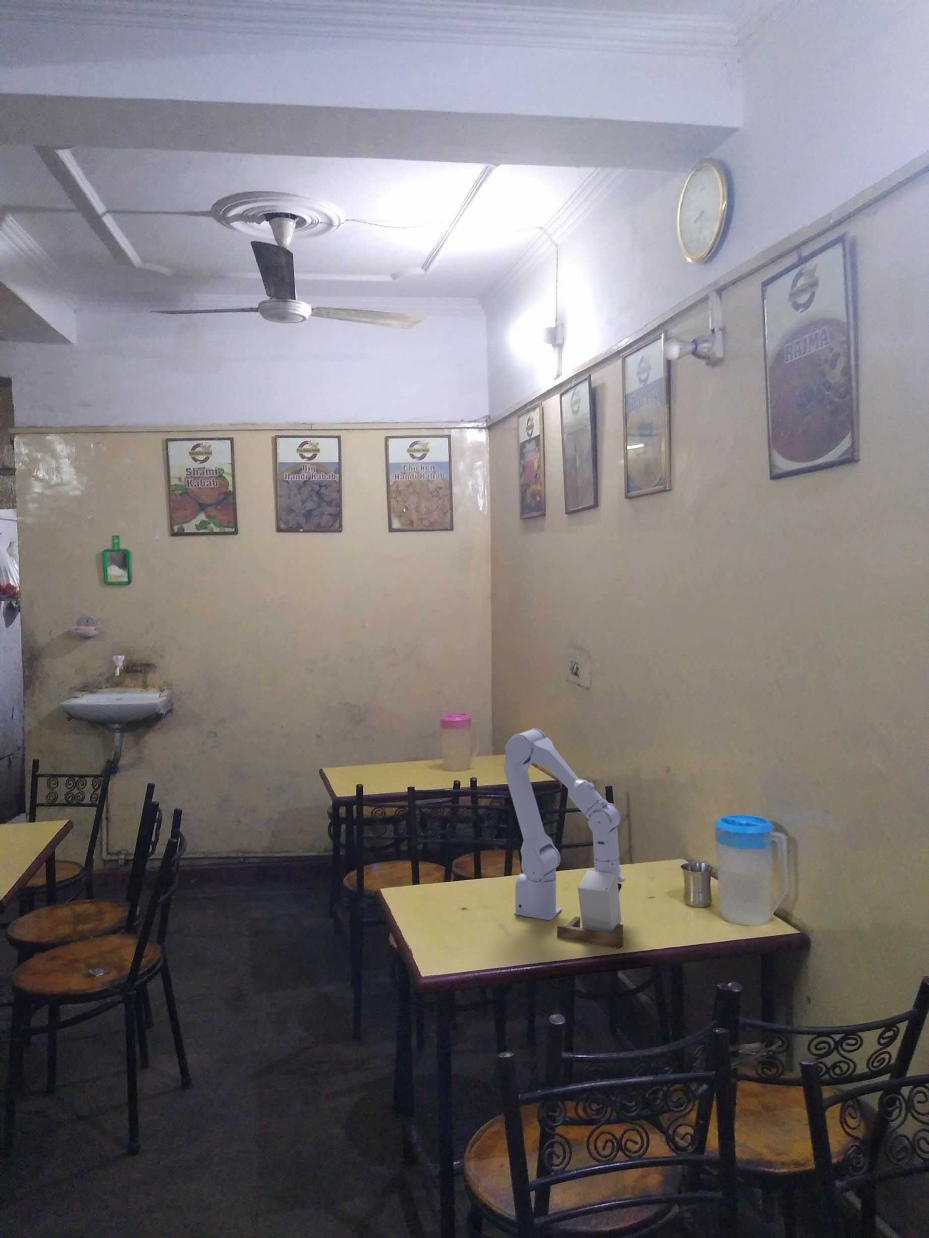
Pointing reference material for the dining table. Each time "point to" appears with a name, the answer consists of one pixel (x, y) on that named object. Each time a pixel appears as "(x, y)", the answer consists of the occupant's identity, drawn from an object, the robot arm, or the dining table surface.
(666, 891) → the dining table surface
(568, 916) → the dining table surface
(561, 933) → the walnut clip
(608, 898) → the supplement box
